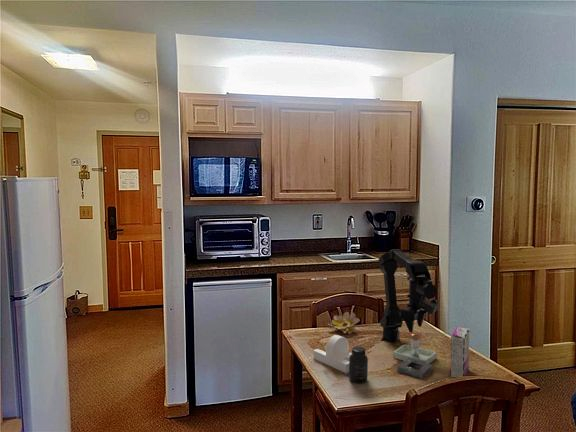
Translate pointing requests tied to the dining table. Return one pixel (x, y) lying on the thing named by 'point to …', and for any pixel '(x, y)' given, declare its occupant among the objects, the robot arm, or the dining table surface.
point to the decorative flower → (345, 322)
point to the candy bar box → (459, 352)
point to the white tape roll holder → (335, 353)
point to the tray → (424, 357)
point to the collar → (407, 369)
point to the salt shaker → (414, 344)
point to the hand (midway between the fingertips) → (415, 329)
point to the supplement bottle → (358, 365)
